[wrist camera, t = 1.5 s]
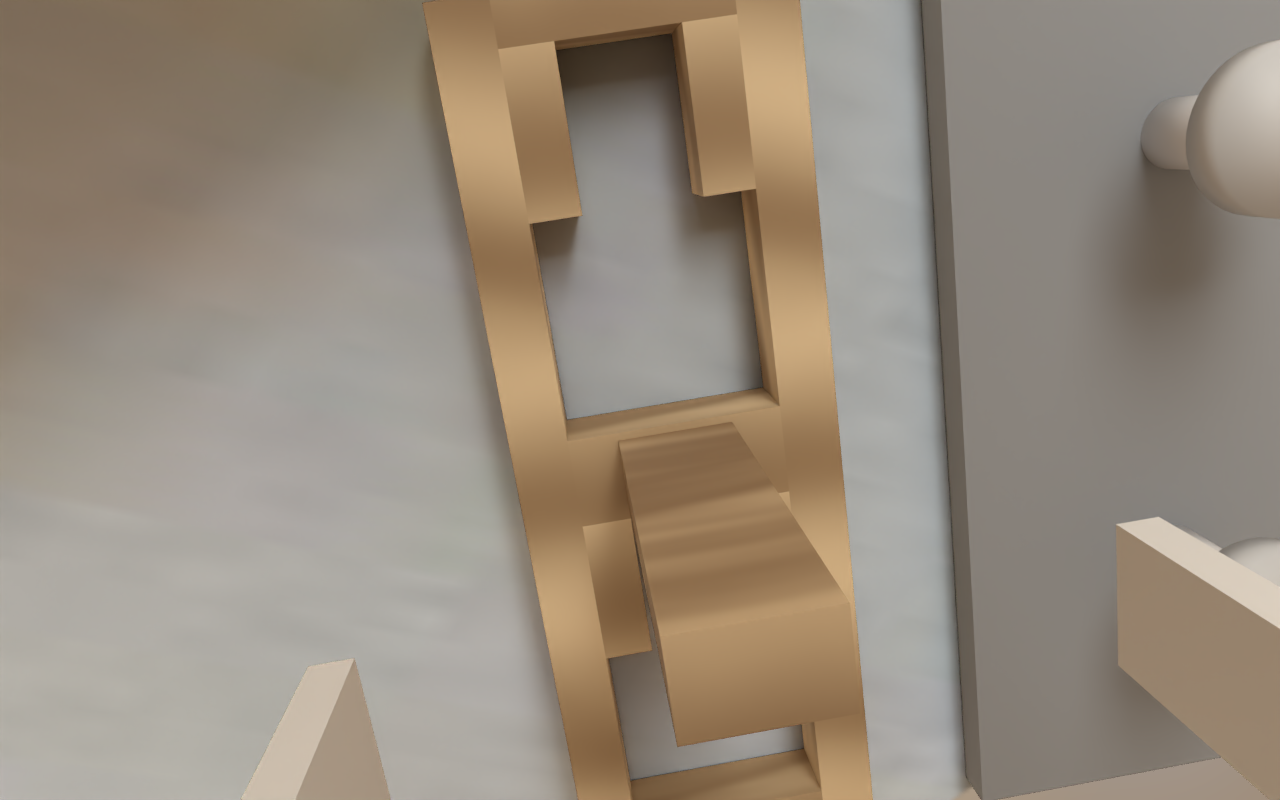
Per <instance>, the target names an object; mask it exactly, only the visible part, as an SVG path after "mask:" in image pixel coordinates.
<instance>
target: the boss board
mask: <svg viewBox="0 0 1280 800" xmlns="http://www.w3.org/2000/svg"><path fill="white" fill-rule="evenodd" d="M922 17H923V34H924V51H925V69H926V86H927V103H928V121H929V138H930V155H931V173H932V190H933V207H934V224H935V242H936V259H937V276H938V294H939V311H940V328H941V346H942V363H943V380H944V398H945V415H946V432H947V450H948V467H949V484H950V502H951V519H952V536H953V554H954V571H955V588H956V606H957V623H958V640H959V658H960V675H961V692H962V710H963V727H964V744H965V762H966V777H967V779H968V780H969V782H970V783H971V785H972V787H973V788H974V790H975V791H976V793H977V794H978V796H979V797H980V799H981V800H998V799H1003V798H1008V797H1014V796H1019V795H1024V794H1030V793H1035V792H1040V791H1045V790H1051V789H1056V788H1061V787H1066V786H1072V785H1077V784H1082V783H1088V782H1093V781H1098V780H1104V779H1109V778H1114V777H1119V776H1125V775H1130V774H1136V773H1141V772H1146V771H1151V770H1156V769H1162V768H1167V767H1173V766H1178V765H1183V764H1189V763H1194V762H1199V761H1204V760H1209V759H1215V758H1220V757H1221V756H1220V755H1218V754H1217V753H1216V752H1215V751H1214V750H1213V749H1212V748H1211V747H1209V746H1208V745H1207V744H1206V743H1205V742H1204V741H1203V740H1202V739H1200V738H1199V737H1198V736H1197V735H1196V734H1195V733H1194V732H1193V731H1191V730H1190V729H1189V728H1188V727H1187V726H1186V725H1185V724H1184V723H1182V722H1181V721H1180V720H1179V719H1178V718H1177V717H1176V716H1175V715H1173V714H1172V713H1171V712H1170V711H1169V710H1168V709H1167V708H1166V707H1164V706H1163V705H1162V704H1161V703H1160V702H1159V701H1158V700H1157V699H1155V698H1154V697H1153V696H1152V695H1151V694H1150V693H1149V692H1148V691H1146V690H1145V689H1144V688H1143V687H1142V686H1141V685H1140V684H1139V683H1137V682H1136V681H1135V680H1134V679H1133V678H1132V677H1131V676H1129V675H1128V674H1127V673H1126V672H1125V671H1124V670H1123V669H1122V668H1120V667H1119V666H1118V622H1117V555H1116V524H1121V523H1126V522H1132V521H1138V520H1143V519H1149V518H1155V517H1160V518H1162V519H1163V520H1165V521H1167V522H1169V523H1170V524H1172V525H1174V526H1175V527H1177V528H1179V529H1181V530H1182V531H1184V532H1186V533H1188V534H1189V535H1191V536H1193V537H1194V538H1196V539H1198V540H1200V541H1201V542H1203V543H1205V544H1206V545H1208V546H1210V547H1212V548H1213V549H1215V550H1217V551H1219V552H1220V553H1222V554H1224V555H1225V556H1227V557H1229V558H1231V559H1232V560H1234V561H1236V562H1237V563H1239V564H1241V565H1243V566H1244V567H1246V568H1248V569H1250V570H1251V571H1253V572H1255V573H1256V574H1258V575H1260V576H1262V577H1263V578H1265V579H1267V580H1269V581H1270V582H1272V583H1274V584H1275V585H1277V586H1279V587H1280V0H922Z"/></svg>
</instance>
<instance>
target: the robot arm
mask: <svg viewBox="0 0 1280 800" xmlns="http://www.w3.org/2000/svg"><path fill="white" fill-rule="evenodd" d="M1116 555H1117V622H1118V666H1119V667H1120V668H1122V669H1123V670H1124V671H1125V672H1126V673H1127V674H1128V675H1129V676H1131V677H1132V678H1133V679H1134V680H1135V681H1136V682H1137V683H1139V684H1140V685H1141V686H1142V687H1143V688H1144V689H1145V690H1146V691H1148V692H1149V693H1150V694H1151V695H1152V696H1153V697H1154V698H1155V699H1157V700H1158V701H1159V702H1160V703H1161V704H1162V705H1163V706H1164V707H1166V708H1167V709H1168V710H1169V711H1170V712H1171V713H1172V714H1173V715H1175V716H1176V717H1177V718H1178V719H1179V720H1180V721H1181V722H1182V723H1184V724H1185V725H1186V726H1187V727H1188V728H1189V729H1190V730H1191V731H1193V732H1194V733H1195V734H1196V735H1197V736H1198V737H1199V738H1200V739H1202V740H1203V741H1204V742H1205V743H1206V744H1207V745H1208V746H1209V747H1211V748H1212V749H1213V750H1214V751H1215V752H1216V753H1217V754H1218V755H1220V756H1221V757H1222V758H1223V759H1224V760H1225V761H1226V762H1227V763H1229V764H1230V765H1231V766H1232V767H1233V768H1234V769H1235V770H1236V771H1238V772H1239V773H1240V774H1241V775H1242V776H1243V777H1244V778H1245V779H1247V780H1248V781H1249V782H1250V783H1251V784H1252V785H1253V786H1254V787H1256V788H1257V789H1258V790H1259V791H1260V792H1261V793H1262V794H1263V795H1265V796H1266V797H1267V798H1268V799H1269V800H1280V587H1279V586H1277V585H1275V584H1274V583H1272V582H1270V581H1269V580H1267V579H1265V578H1263V577H1262V576H1260V575H1258V574H1256V573H1255V572H1253V571H1251V570H1250V569H1248V568H1246V567H1244V566H1243V565H1241V564H1239V563H1237V562H1236V561H1234V560H1232V559H1231V558H1229V557H1227V556H1225V555H1224V554H1222V553H1220V552H1219V551H1217V550H1215V549H1213V548H1212V547H1210V546H1208V545H1206V544H1205V543H1203V542H1201V541H1200V540H1198V539H1196V538H1194V537H1193V536H1191V535H1189V534H1188V533H1186V532H1184V531H1182V530H1181V529H1179V528H1177V527H1175V526H1174V525H1172V524H1170V523H1169V522H1167V521H1165V520H1163V519H1162V518H1160V517H1155V518H1149V519H1143V520H1138V521H1132V522H1126V523H1121V524H1116ZM241 800H390V795H389V791H388V787H387V783H386V779H385V775H384V771H383V768H382V764H381V760H380V756H379V752H378V748H377V744H376V740H375V736H374V732H373V728H372V724H371V721H370V717H369V713H368V709H367V705H366V701H365V697H364V693H363V689H362V685H361V681H360V678H359V674H358V670H357V666H356V662H355V658H353V659H347V660H341V661H335V662H330V663H324V664H318V665H313V666H308V668H307V670H306V672H305V674H304V676H303V678H302V680H301V682H300V684H299V686H298V688H297V690H296V692H295V693H294V695H293V697H292V699H291V701H290V703H289V705H288V707H287V709H286V711H285V713H284V715H283V717H282V719H281V721H280V723H279V725H278V727H277V729H276V731H275V733H274V735H273V737H272V739H271V741H270V743H269V745H268V747H267V749H266V751H265V753H264V755H263V757H262V759H261V761H260V763H259V765H258V767H257V769H256V771H255V773H254V775H253V776H252V778H251V780H250V782H249V784H248V786H247V788H246V790H245V792H244V794H243V796H242V798H241Z"/></svg>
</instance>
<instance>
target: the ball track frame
mask: <svg viewBox="0 0 1280 800" xmlns="http://www.w3.org/2000/svg"><path fill="white" fill-rule="evenodd" d="M422 4H423V10H424V15H425V20H426V25H427V30H428V35H429V40H430V45H431V50H432V56H433V61H434V66H435V71H436V76H437V81H438V86H439V91H440V96H441V102H442V107H443V112H444V117H445V122H446V127H447V132H448V137H449V142H450V148H451V153H452V158H453V163H454V168H455V173H456V178H457V183H458V188H459V193H460V199H461V204H462V209H463V214H464V219H465V224H466V229H467V234H468V239H469V245H470V250H471V255H472V260H473V265H474V270H475V275H476V280H477V285H478V291H479V296H480V301H481V306H482V311H483V316H484V321H485V326H486V331H487V337H488V342H489V347H490V352H491V357H492V362H493V367H494V372H495V377H496V383H497V388H498V393H499V398H500V403H501V408H502V413H503V418H504V423H505V429H506V434H507V439H508V444H509V449H510V454H511V459H512V464H513V469H514V475H515V480H516V485H517V490H518V495H519V500H520V505H521V510H522V515H523V521H524V526H525V531H526V536H527V541H528V546H529V551H530V556H531V561H532V567H533V572H534V577H535V582H536V587H537V592H538V597H539V602H540V607H541V613H542V618H543V623H544V628H545V633H546V638H547V643H548V648H549V653H550V659H551V664H552V669H553V674H554V679H555V684H556V689H557V694H558V699H559V705H560V710H561V715H562V720H563V725H564V730H565V735H566V740H567V745H568V751H569V756H570V761H571V766H572V771H573V776H574V781H575V786H576V791H577V797H578V800H873V797H872V786H871V775H870V765H869V754H868V743H867V732H866V721H865V710H864V699H863V688H862V677H861V666H860V655H859V644H858V633H857V622H856V611H855V600H854V589H853V578H852V567H851V557H850V546H849V535H848V524H847V513H846V502H845V491H844V480H843V469H842V458H841V447H840V436H839V425H838V414H837V403H836V392H835V381H834V370H833V359H832V349H831V338H830V327H829V316H828V305H827V294H826V283H825V272H824V261H823V250H822V239H821V228H820V217H819V206H818V195H817V184H816V173H815V162H814V151H813V141H812V130H811V119H810V108H809V97H808V86H807V75H806V64H805V53H804V42H803V31H802V20H801V9H800V0H438V1H431V2H424V3H422ZM670 33H672V39H673V47H674V55H675V63H676V71H677V78H678V86H679V94H680V102H681V110H682V117H683V125H684V133H685V141H686V149H687V157H688V164H689V172H690V180H691V188H692V193H693V194H696V195H700V196H703V197H706V196H712V195H718V194H725V193H731V192H738V191H741V196H742V205H743V214H744V223H745V231H746V240H747V249H748V258H749V267H750V275H751V284H752V293H753V302H754V311H755V319H756V328H757V337H758V346H759V355H760V364H761V372H762V381H763V388H757V389H751V390H745V391H739V392H733V393H727V394H721V395H715V396H709V397H703V398H697V399H690V400H684V401H678V402H672V403H666V404H660V405H654V406H648V407H642V408H636V409H630V410H624V411H618V412H612V413H606V414H600V415H594V416H588V417H582V418H576V419H570V420H567V418H566V413H565V407H564V401H563V396H562V390H561V384H560V378H559V373H558V367H557V361H556V356H555V350H554V344H553V339H552V333H551V327H550V322H549V316H548V310H547V305H546V299H545V293H544V288H543V282H542V276H541V271H540V265H539V259H538V253H537V248H536V242H535V236H534V231H533V225H532V223H538V222H545V221H551V220H558V219H564V218H571V217H577V216H582V211H581V205H580V199H579V193H578V186H577V180H576V174H575V168H574V162H573V155H572V149H571V143H570V137H569V130H568V124H567V118H566V112H565V106H564V99H563V93H562V87H561V81H560V75H559V68H558V62H557V56H556V50H561V49H568V48H575V47H581V46H588V45H595V44H602V43H609V42H615V41H622V40H629V39H636V38H643V37H649V36H656V35H663V34H670ZM631 520H632V522H631ZM632 525H633V528H632ZM633 530H634V534H633ZM634 535H635V540H636V544H637V549H638V554H639V559H640V564H641V569H642V574H643V579H644V584H645V589H646V594H647V599H648V604H649V609H650V614H651V618H652V623H653V628H654V633H655V638H656V643H657V648H658V653H659V658H660V663H661V668H662V673H663V678H664V683H665V688H666V692H667V697H668V702H669V707H670V712H671V717H672V722H673V727H674V732H675V737H676V742H677V747H680V746H685V745H691V744H696V743H702V742H707V741H713V740H718V739H724V738H729V737H735V736H740V735H745V734H751V733H756V732H762V731H767V730H773V729H778V728H784V727H789V726H795V725H800V724H801V725H802V733H803V742H804V749H800V750H794V751H789V752H783V753H778V754H773V755H767V756H762V757H756V758H751V759H746V760H740V761H735V762H729V763H724V764H718V765H713V766H708V767H702V768H697V769H691V770H686V771H680V772H675V773H670V774H664V775H659V776H653V777H648V778H642V779H637V780H632V781H630V776H629V771H628V765H627V759H626V753H625V748H624V742H623V736H622V731H621V725H620V719H619V714H618V708H617V702H616V697H615V691H614V685H613V680H612V674H611V668H610V663H609V658H613V657H618V656H624V655H630V654H635V653H641V652H647V651H652V646H651V640H650V634H649V628H648V621H647V615H646V609H645V603H644V596H643V590H642V584H641V578H640V572H639V565H638V559H637V553H636V547H635V541H634Z"/></svg>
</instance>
